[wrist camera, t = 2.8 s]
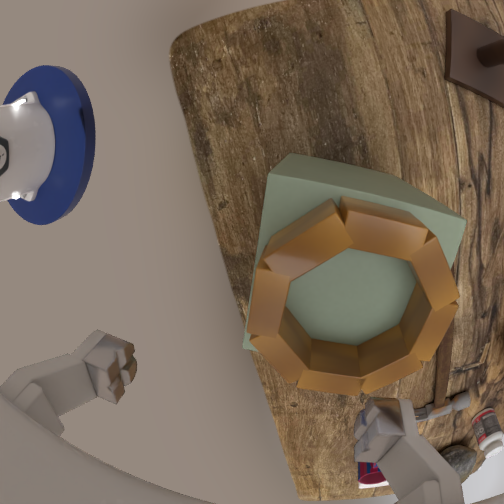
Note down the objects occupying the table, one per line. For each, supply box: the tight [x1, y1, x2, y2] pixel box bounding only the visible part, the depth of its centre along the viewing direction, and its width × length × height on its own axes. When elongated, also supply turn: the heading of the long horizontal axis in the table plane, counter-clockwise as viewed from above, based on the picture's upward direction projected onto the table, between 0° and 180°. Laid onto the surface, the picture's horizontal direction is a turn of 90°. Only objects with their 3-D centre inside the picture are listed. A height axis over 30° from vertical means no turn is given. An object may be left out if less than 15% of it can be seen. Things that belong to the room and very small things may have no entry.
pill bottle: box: [472, 408, 503, 458], centre depth 33 cm, size 5×5×10 cm
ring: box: [246, 196, 460, 396], centre depth 14 cm, size 10×10×3 cm
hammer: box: [414, 262, 470, 422], centre depth 33 cm, size 12×3×30 cm
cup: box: [358, 462, 387, 484], centre depth 41 cm, size 7×10×7 cm
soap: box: [359, 481, 389, 488], centre depth 47 cm, size 9×6×3 cm, turn 100°
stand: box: [445, 9, 504, 108], centre depth 16 cm, size 9×9×8 cm
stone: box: [440, 445, 477, 484], centre depth 40 cm, size 17×13×10 cm
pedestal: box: [242, 153, 467, 352], centre depth 23 cm, size 11×11×16 cm
